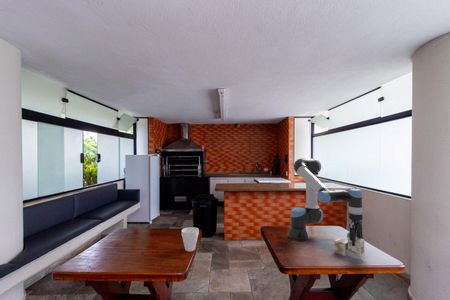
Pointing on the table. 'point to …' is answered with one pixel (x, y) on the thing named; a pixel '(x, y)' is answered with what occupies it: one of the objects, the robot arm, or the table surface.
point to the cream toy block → (340, 246)
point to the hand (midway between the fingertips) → (356, 249)
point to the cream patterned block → (359, 246)
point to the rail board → (353, 255)
